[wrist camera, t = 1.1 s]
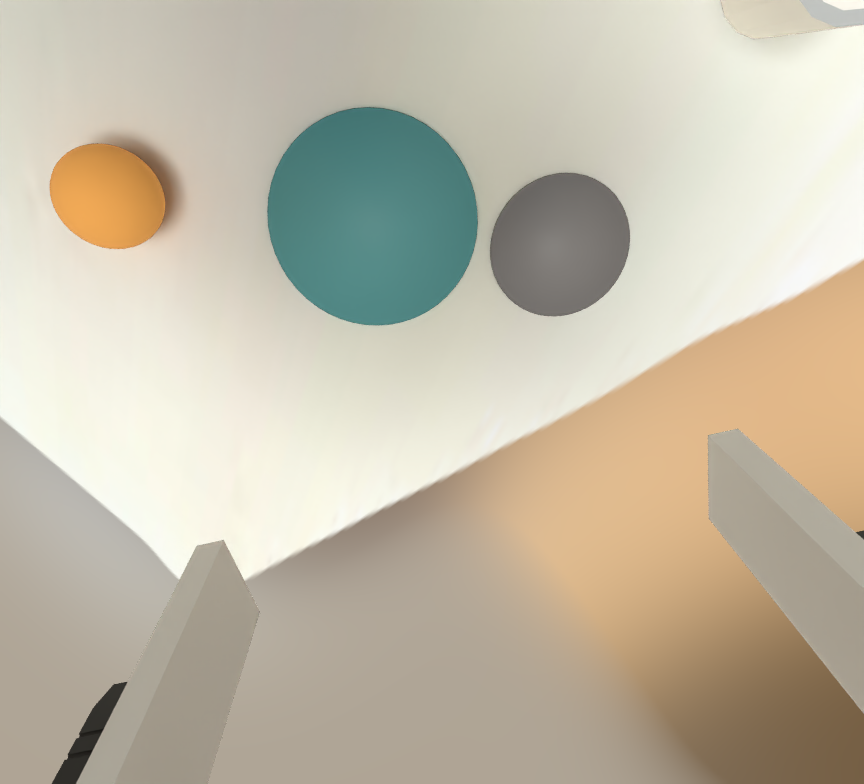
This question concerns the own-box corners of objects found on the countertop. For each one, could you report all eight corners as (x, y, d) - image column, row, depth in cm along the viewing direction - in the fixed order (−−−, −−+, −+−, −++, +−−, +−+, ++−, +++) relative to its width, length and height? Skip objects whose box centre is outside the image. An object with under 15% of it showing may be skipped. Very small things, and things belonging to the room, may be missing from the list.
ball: (64, 167, 32) (1, 171, 27) (144, 127, 31) (95, 123, 26) (121, 254, 34) (72, 273, 29) (197, 219, 33) (161, 231, 28)
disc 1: (227, 164, 32) (226, 164, 32) (429, 67, 31) (429, 67, 31) (328, 353, 37) (327, 354, 37) (505, 278, 36) (506, 279, 36)
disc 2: (469, 209, 34) (470, 209, 34) (608, 148, 33) (609, 148, 33) (516, 335, 37) (517, 336, 37) (643, 284, 36) (644, 284, 36)
